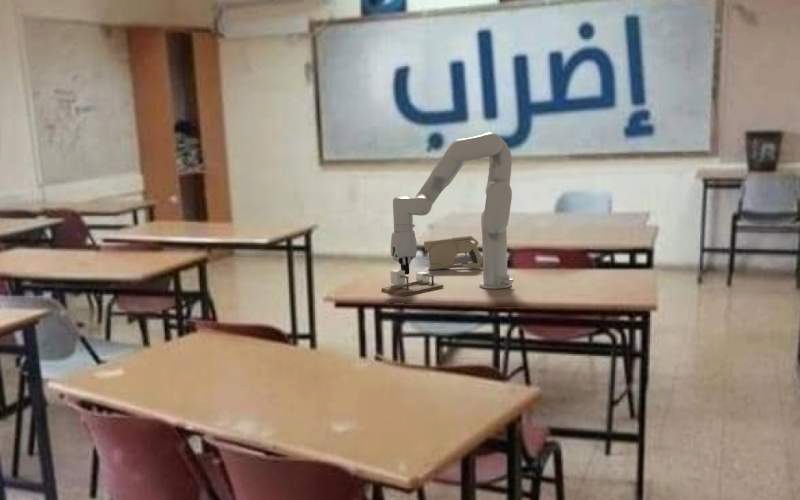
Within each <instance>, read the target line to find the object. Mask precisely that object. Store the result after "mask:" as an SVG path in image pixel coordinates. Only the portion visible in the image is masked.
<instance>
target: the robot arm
mask: <svg viewBox="0 0 800 500" xmlns="http://www.w3.org/2000/svg"><path fill="white" fill-rule="evenodd" d="M487 157H488V159H489V160H488V161H489V167H488V176H487V182H486V188H485V197H486V198H485V205H484V210H483V212H482V213H481V217H480V219H481V225H480V226H481V237H482V238H481V239H482V240H481V241H482V242H481V244H482V247H481V248H482V278H483V280H482V281H480V282H479V287H480V288H481V289H482V288H483V289H490V290H491V289H492V290H499V289H508V288H510V287H511V286H512V283H514V279H513V278H510V274H508V241H507V240H508V238H507V237H508V236H507V228H508V224H509V219H510V214H511V213H510V212H511V206H512V199H513V198H512V197H513V191H512V187H511V175H512V174H511V173H512V164H513V163H512V162H513V160H512V158H513V157H512V153H511V150H510V147H509V146H508V144H507V142H506V141H505V140H504V139H503V138H502V137H501V136H499V135H498V134H497V133H495V132H491V131H487V132H485V133H482V134H481V135H476V136H473V137H468V138H456V139H455V140H453V141H452V142H451V144H450V145H449V146H448V148H447V149H446V151H444V154H443V155H442V157H440V159H439V161H438V162H437V164H436V165H435V166H434V168H433V170H432V171H431V173H430V175H429V176H428V178H427V179H426V181H425V182H424V184H423V185H422V187H420V189H419V191H418V192H417V194H416V195H415V197H410V196H407V195H406V196H405V195H404V196H395V197H394V198H393V200H392V215H393V232H392V233H391V238H390V256H391V257H392V261H395V262H397V263H399V265H400V270H405V276H407V275H410V265H411V262H412V261H413V259H415V258H416V257H417V251H418V245H417V238H416V233H415V232H416V231H415V230H414V228H415V227H416V226H415V223H414V222H413V221H414V219H413V218H414V217H413V216H422V217H423V216H426V215H428V214H429V213H430V212H431V210H432V208H433V205H434V204H435V202H436V200H437V199H438V198H439V196H440V195H441V193H442V192H443V191H444V190H445V189H446V188H447V187H448V186H449V185H451V183H452V182H453V180H455V178H456V176H457V175H458V173H459V172H460V170H461V169H462V168H463V166H464V165H465V163H466V162H470V161H475V160H480V159H484V158H487Z"/></svg>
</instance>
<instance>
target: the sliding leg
mask: <svg viewBox="0 0 800 500" xmlns="http://www.w3.org/2000/svg"><path fill="white" fill-rule="evenodd" d="M405 282H406V284H407V289H409V283H408V282H409V276H407V275H405V270H401V268H400V269H399V268H398V269H397V268H396V269H393V270H390V284H391V285H400V284H405Z"/></svg>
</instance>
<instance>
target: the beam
mask: <svg viewBox="0 0 800 500" xmlns="http://www.w3.org/2000/svg"><path fill="white" fill-rule="evenodd" d="M415 273H416V274H415V275H416V276H415V277H416V278H415V279H416V280H410V281H408V283H409V286H410V285H415V284H420V283H422V284H424V283H428V282H432V284H434V283H435V281H434V277H435V275H434V274H433V275H432V274H430V272H425V271H420V272H415ZM430 279H431V280H430ZM406 286H407V284H406V281H405V284H400V285H395V284H391V285H388V286H387V287H388V289H390V290H391V289H396V288H401V287H406Z"/></svg>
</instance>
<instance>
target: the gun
mask: <svg viewBox="0 0 800 500" xmlns="http://www.w3.org/2000/svg"><path fill="white" fill-rule="evenodd" d="M472 241H473V242H472ZM478 245H479V241H478V240H477V239H476V238H475V237H474V236H472V235H463V236H454V237H449V238H441V239H432V240H424V241H423V246H424V251H425V252H428V258H429V259H428V260H429V264H430V265H429V267H428V271H438V270H446V269H447V270H448V269H454V268H462V267H463V268H469V269H474V270H475V269H476V270H480V269H481V268H482V267H481V266H482V264H483V256H481V253H480V251H479V249H478ZM467 253H468V255H469V258H470V259H471V261H466V262H461V263H453V262H454V261H455V259H456V257H457V256H458V254H465V256H464V258H466V256H467Z"/></svg>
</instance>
